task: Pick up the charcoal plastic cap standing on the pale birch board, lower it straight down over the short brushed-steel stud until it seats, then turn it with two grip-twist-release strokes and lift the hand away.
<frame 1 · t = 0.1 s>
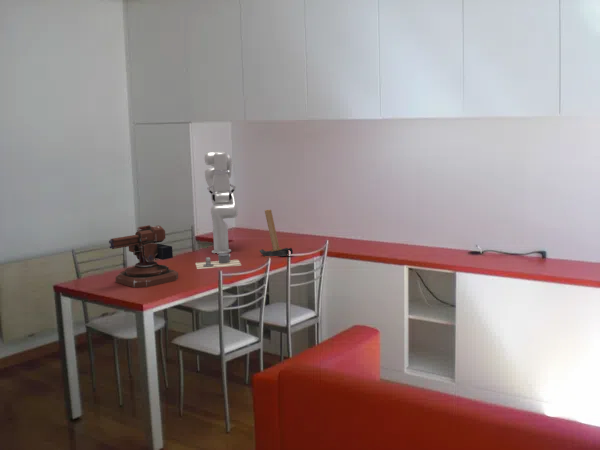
hand: (222, 200, 430), 37 cm above the table, tool pointing down, fingers open, 9 cm apart
board: (218, 266, 416), on the table
cap: (224, 262, 421), point 1 cm above the table, touching board
hammer: (276, 256, 440), on the table
model turret: (141, 281, 383), on the table
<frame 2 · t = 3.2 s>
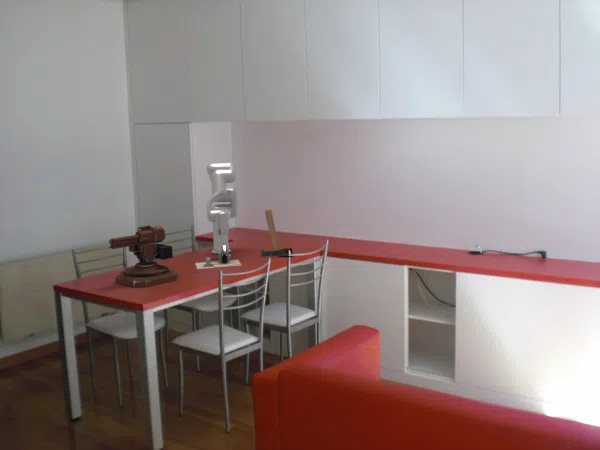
hand: (224, 261, 421), 2 cm above the table, tool pointing down, fingers closed on cap, 6 cm apart
cap: (224, 262, 421), point 1 cm above the table, touching board, gripper
everything else where it was.
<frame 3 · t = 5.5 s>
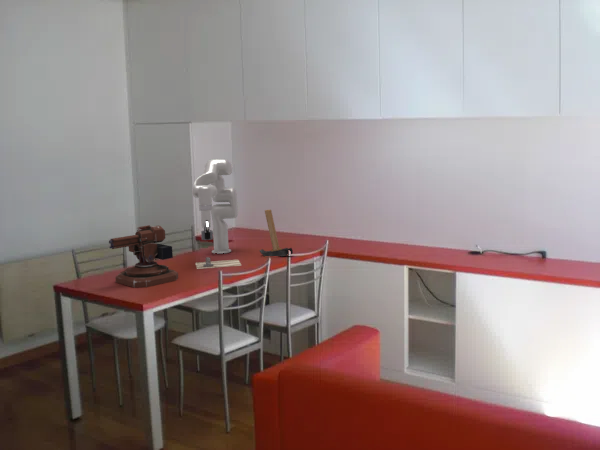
hand: (207, 237, 409), 18 cm above the table, tool pointing down, fingers closed on cap, 6 cm apart
cap: (207, 239, 410), point 17 cm above the table, touching gripper
everything else where it was.
when the fingers open (3 cm above the table, at t = 8.0 s): cap stays where it is, resting on board.
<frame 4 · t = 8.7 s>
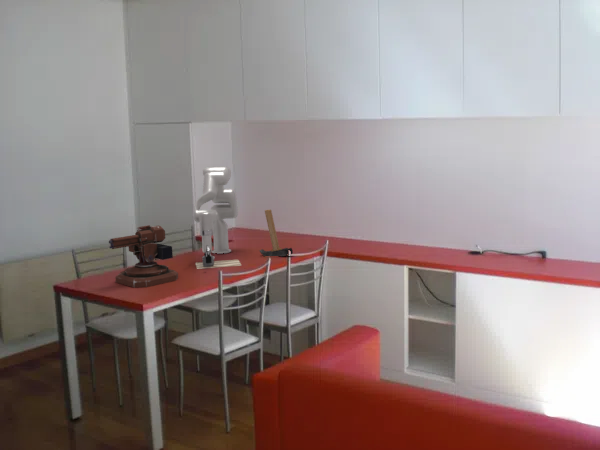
hand: (208, 261, 412), 4 cm above the table, tool pointing down, fingers open, 9 cm apart
cap: (208, 264, 412), point 2 cm above the table, touching board
everything else where it was.
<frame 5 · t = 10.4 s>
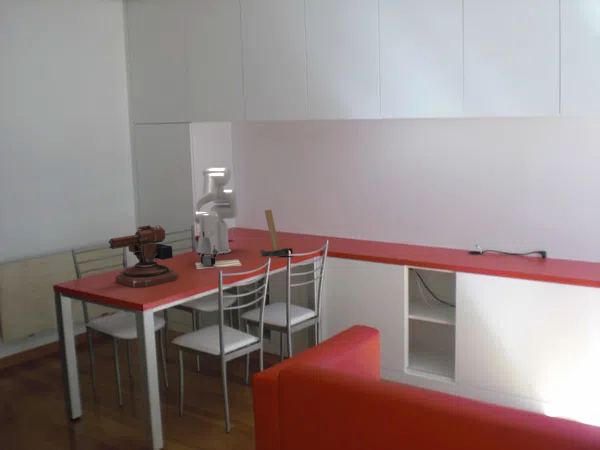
hand: (208, 263, 412), 2 cm above the table, tool pointing down, fingers closed on cap, 6 cm apart
cap: (208, 264, 412), point 2 cm above the table, touching gripper
everything else where it was.
when the fingers open (2 cm above the table, at t = 11.0 s): cap stays where it is, resting on board.
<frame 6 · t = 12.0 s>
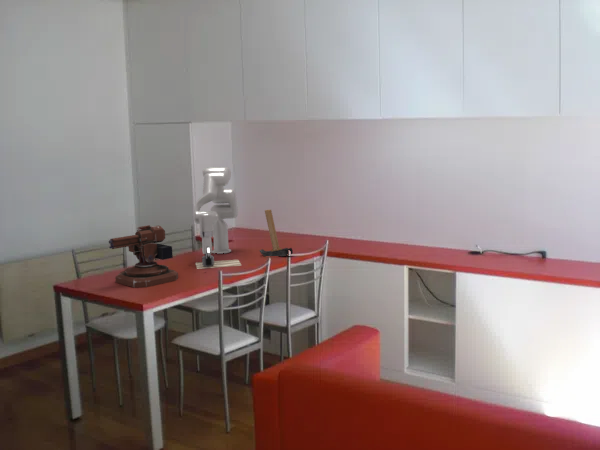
hand: (208, 263, 412), 3 cm above the table, tool pointing down, fingers open, 7 cm apart
cap: (208, 264, 412), point 2 cm above the table, touching board, gripper
everything else where it was.
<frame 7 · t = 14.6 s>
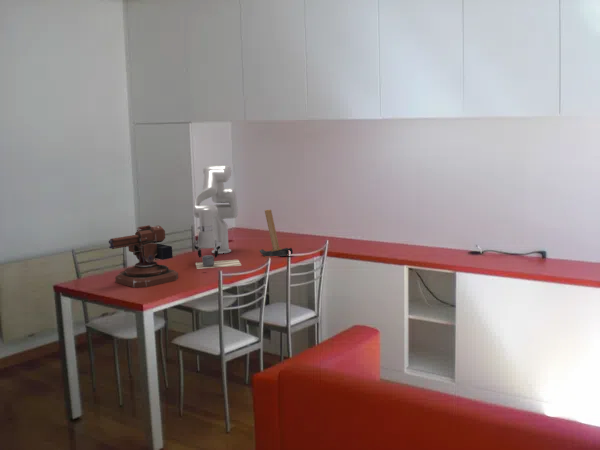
hand: (208, 257, 412), 6 cm above the table, tool pointing down, fingers open, 9 cm apart
cap: (208, 264, 412), point 2 cm above the table, touching board
everything else where it was.
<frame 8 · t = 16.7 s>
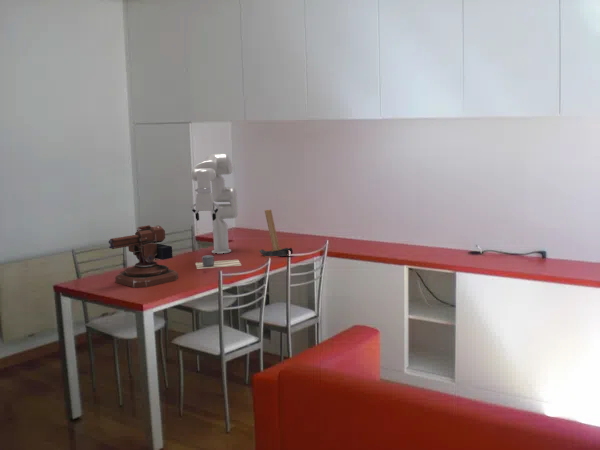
hand: (205, 220, 408), 28 cm above the table, tool pointing down, fingers open, 9 cm apart
nothing on the table moved.
at the end: cap 0.1 cm from the target spot on the board, point 2.0 cm above the board's base; cap tilted 0°; the gripper is holding nothing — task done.
